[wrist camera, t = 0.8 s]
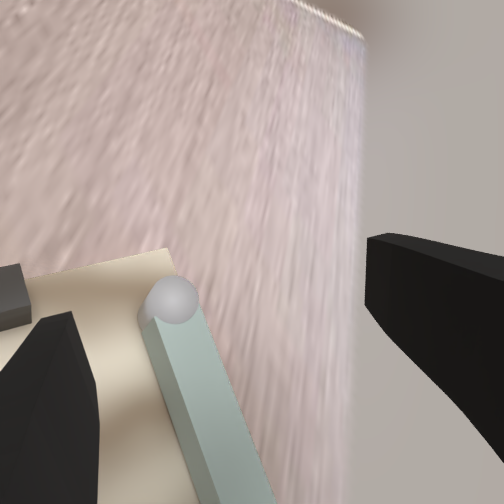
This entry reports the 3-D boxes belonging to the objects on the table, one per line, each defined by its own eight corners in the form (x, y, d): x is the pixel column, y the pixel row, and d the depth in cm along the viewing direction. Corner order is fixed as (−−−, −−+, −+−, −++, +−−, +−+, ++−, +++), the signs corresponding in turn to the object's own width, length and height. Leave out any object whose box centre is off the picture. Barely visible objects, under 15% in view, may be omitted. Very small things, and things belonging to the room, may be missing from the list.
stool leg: (131, 303, 23) (143, 282, 20) (171, 291, 24) (188, 270, 22) (217, 552, 20) (245, 565, 17) (259, 524, 21) (291, 532, 19)
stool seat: (271, 559, 23) (322, 580, 19) (-20, 774, 16) (-39, 881, 12) (159, 260, 27) (180, 224, 23) (-108, 324, 20) (-143, 289, 16)
